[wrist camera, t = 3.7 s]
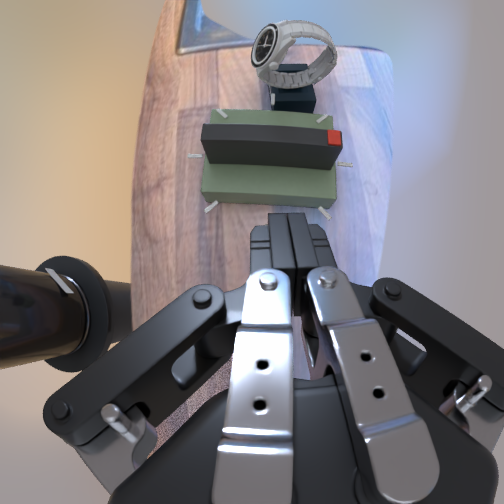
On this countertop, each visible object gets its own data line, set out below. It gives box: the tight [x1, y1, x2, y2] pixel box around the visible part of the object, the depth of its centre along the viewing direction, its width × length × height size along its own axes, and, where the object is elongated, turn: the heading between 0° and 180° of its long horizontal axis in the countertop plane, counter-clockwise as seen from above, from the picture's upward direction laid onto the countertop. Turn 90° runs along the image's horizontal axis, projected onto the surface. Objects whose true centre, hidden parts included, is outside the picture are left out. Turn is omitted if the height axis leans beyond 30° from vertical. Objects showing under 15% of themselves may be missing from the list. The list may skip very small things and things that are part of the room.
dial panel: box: [188, 94, 353, 225], centre depth 28 cm, size 15×15×3 cm
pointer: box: [201, 124, 343, 170], centre depth 24 cm, size 11×2×5 cm, turn 87°
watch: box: [251, 20, 337, 114], centre depth 25 cm, size 6×8×11 cm
